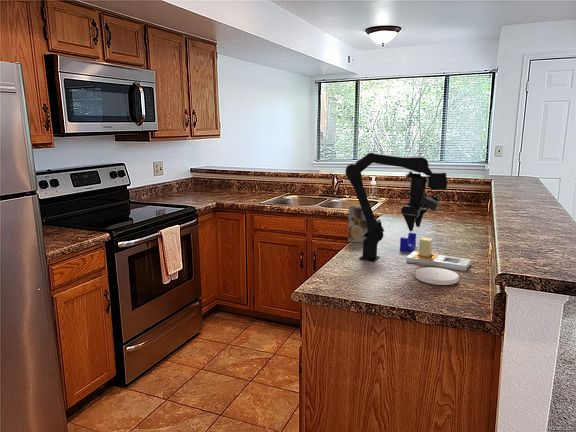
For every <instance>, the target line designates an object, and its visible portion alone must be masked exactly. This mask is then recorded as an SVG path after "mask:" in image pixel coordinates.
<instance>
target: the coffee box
mask: <svg viewBox="0 0 576 432" xmlns="http://www.w3.org/2000/svg"><path fill="white" fill-rule="evenodd" d="M347 215H348V217H347V218H348V223H347V224H348V227H347V234H348V235H347V236H348V237H347V241H348V242H351V243H352V242H353V243H362V244H363V243H364V242H363V237H362V236H363V235H364V234H365V233H367V232H368V230H367V224H366V219H365V216H364V214H363V211H362V208H361V205H350V206H349V207H348V214H347Z"/></svg>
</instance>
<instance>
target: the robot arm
mask: <svg viewBox="0 0 576 432" xmlns="http://www.w3.org/2000/svg"><path fill="white" fill-rule="evenodd" d="M372 164H377V165H385V166H392V167H398V168H405V169H407V170H409V172H408V173H407V174H406V175H405V177H406V178H407V179H410V181H409V182H410V183H409V191H408V192H407V196H409V197H408V201H407V202H406V203H407V204H405V205H404V206H403V207H401V208H400V209H401V210H400V214H402V216H403V218H404V221H405V223H406V225H407V228H408V230H409V232H413V230H414V227H415V226H416V228H420V226H421V224H422V221H423V218H424V215H425V214H426V213H427V212H428V211H429V209H430V210H431V211H433V212H435V211H438V209H439V206H440V205H441V201H440V197H438V196H436V195H435V196H434V197H431V196H428V192H426V188H428V189H429V191H447V188H448V180H447V179H448V178H447V173H446V172H433V171H432V170H431V169H430V167H429V161H428V159H426V158H425V157H423V156H403V157H402V156H396V155H390V154H389V155H388V154H381V153H374V152H368V153H367V154H366V155H364V156H363V157H362V158H360V159H359V160H357V161H356V162H354V163H353V162H351V163H349V164H347V166H346V167H345V175H346V177H347V179H348V180H349V182H350V184H351V186H352V187H353V189H354V191H355V195H356V197H357V200H358V202H359V206H361V208H362V211H363V214H364V216H365V219H366V224H367V230H368V232H367V233H365V234H364V235H363V236H362V237H363V242H364V243H362V253H361V254H362V255H361V256H360V257H359V260H364V261H371V262H376V261H377V260H378V259H380V258H381V257H380V255H378V243H379V242H380V241H382V239H383V238H384V232H385V229H384V227H383V226H382V221H381V219H380V218H378V219H377V218H376V216H375V215H374V212H373V209H372V206H371V203H370V200H369V198H368V196H367V192H366V190H365V187H364V182H363V178H362V172H363V171H364V170H365V169H367V168H368V167H369V166H370V165H372ZM413 172H414V173H413ZM415 172H416V173H415ZM421 173H422V174H423V175H422V174H421ZM424 175H425V176H424Z"/></svg>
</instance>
